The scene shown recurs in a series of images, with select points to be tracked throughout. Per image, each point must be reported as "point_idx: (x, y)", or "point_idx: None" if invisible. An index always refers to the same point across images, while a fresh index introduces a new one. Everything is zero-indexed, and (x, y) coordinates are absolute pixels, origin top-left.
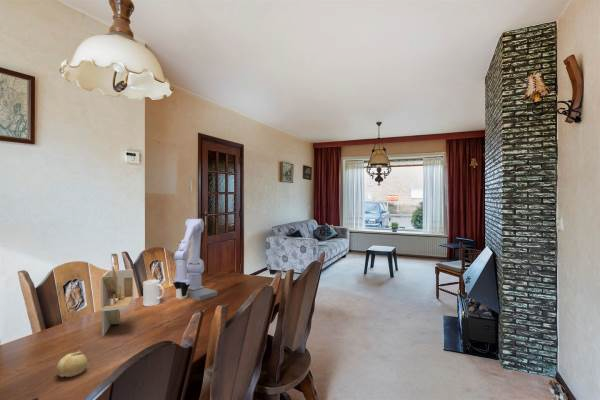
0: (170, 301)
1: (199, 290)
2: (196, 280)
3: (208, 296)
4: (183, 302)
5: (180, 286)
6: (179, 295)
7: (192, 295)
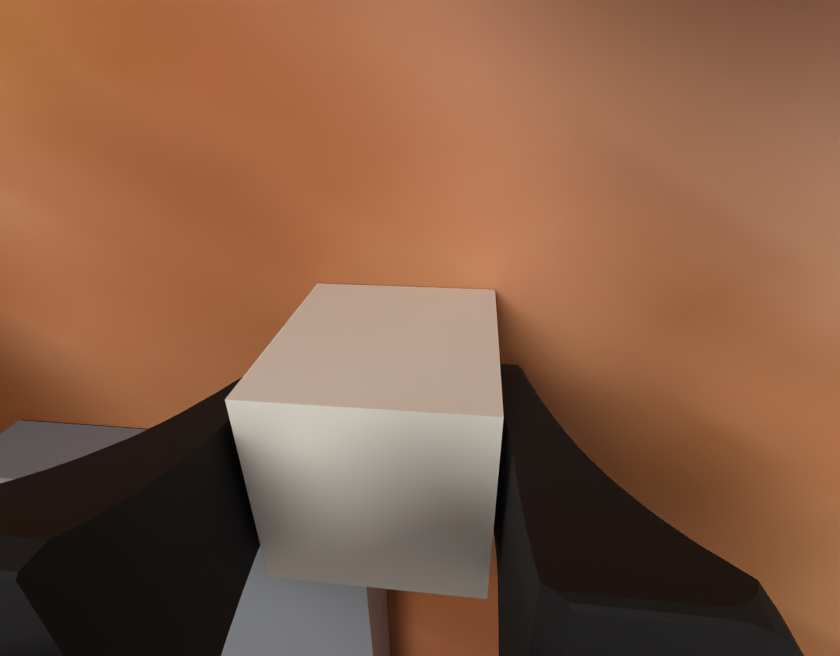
0: (337, 47)
1: (305, 643)
2: None
3: None
4: (68, 210)
5: (76, 504)
6: (319, 319)
7: None
